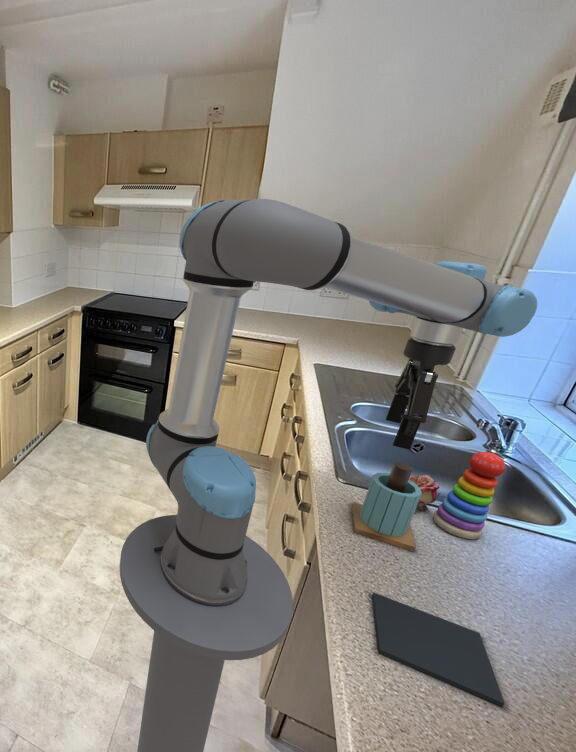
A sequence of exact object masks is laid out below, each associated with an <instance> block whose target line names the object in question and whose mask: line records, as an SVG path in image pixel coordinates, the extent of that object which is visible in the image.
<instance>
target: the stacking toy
mask: <svg viewBox="0 0 576 752" xmlns="http://www.w3.org/2000/svg"><path fill="white" fill-rule="evenodd" d="M469 466H470V468H467V469H465V470H464V471H463V473H462V474H463V476H461V477H459V478H458V480H457V483H456V484H454V486H453V489H452V490H450V491H449V492H448V493H447V497H445V498H443V500H442V503H440V504H439V505H438V506H437V509H436V510H435V511H434V512H433V514H432V518H433V521H434V522H435V523H436V524H437V525H438V527H440V528H441V529H443V530H444V531H445V532H448V533H449V534H452V535H454V536H457V537H460V538H462V539H468V540H475V539H479V538H481V536H482V535H483V529H484V527H485V524H486V523H485V521H487V519H488V512H489V511H490V505H491V504H492V503H493V495H494V494H495V488H496V487H497V486H498V483H499V482H498V479H497V477H500V476H501V475H502V474H504V472H505V470H506V463H505V460H503V458H502V457H500V456H499V455H498V454H495V453H493V452H489V451H481V452H477V453H474V454H473V455H472V456H471V457H470V459H469Z"/></svg>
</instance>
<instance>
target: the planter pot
mask: <svg viewBox="0 0 576 752" xmlns="http://www.w3.org/2000/svg"><path fill="white" fill-rule="evenodd" d="M390 473H391V472H376V473H374V474H372V477H371V479H370V483H369V485H368V489H367V491H366V494H365V497H364V500H363V503H362V504H363V506H362V509H361V512H360V518H361V520H362V521H363V522H364V523H365V524H366V525H368V526H369V527H370V528H372V529H374V530H375V531H377V532H378V531H379V533H382V534H386V535H389V536H390V535H391V536H403V535H404V534H406V532H407V529H408V527H409V525H410V524H411V521H412V520H413V519H412V518H413V517H414V515H415V512H416V509H417V506H418V505H417V504H418V502H419V499H420V497H421V494H422V492H421V489H420V488H419V487H418V486H417V485H416V484H414V483H413V482H411V481H410V480H408V483H407V485H406V488H405V491H404V493H401V492H397V491H393V490H391V489H389V488H387V487H386V484H387V482H388V479H389V476H390Z"/></svg>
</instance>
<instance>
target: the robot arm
mask: <svg viewBox="0 0 576 752" xmlns="http://www.w3.org/2000/svg"><path fill="white" fill-rule="evenodd" d="M179 250H180V253H181V255H182V257H183V259H184V260H185V264H184V265H185V266H184V270H183V271H184V272H183V278H182V281H183V282H184V283H185V285H186V286H187V288H188V289H189V290H188V291H189V293H188V299H187V304H186V309H185V315H184V321H183V322H184V323H183V327H182V331H181V338H180V343H179V349H178V355H177V360H176V366H175V370H174V376H173V382H172V386H171V387H172V388H171V392H170V399H169V404H168V408H167V409H165V410H163V411H162V412H161V413H160V414H159V415H158V419H157V420H156V423H155V424H152V425H151V427H150V428H149V430H148V432H147V435H146V440H145V445H146V451H147V454H148V457H149V459H150V460H149V461H150V462H151V463H152V466H153V467H154V468H155V469H156V470H157V472H158V473H159V475H160V477H161V478H162V480H163V481H164V483H165V485H166V486H167V488H168V489H169V491H170V492H171V494H172V495H173V497H174V499H175V501H176V502H177V513H176V515H177V520H176V527H175V529H174V530H173V532H172V533H171V535H170V537H169V538H168V540H167V541H166V543H165V545H164V546H161V547H156V548H154V551H155V552H160V551H162V553H161V561H160V565H161V570H162V573H163V575H164V577H165V579H166V580H167V582H168V583H169V584H170V585H171V587H172V588H173V589H174V590H176V591H177V592H178V593H179V594H181V595H182V596H184V597H185V598H187V599H189V600H191V601H193V602H196V603H198V604H202V605H206V606H213V607H221V606H227V605H230V604H233V603H235V602H236V601H238V600H239V599H240V598H241V597H242V596H243V594H244V592H245V589H246V584H247V568H246V563H247V561H246V560H245V558H244V553H243V545H244V541H245V536H247V532H248V529H249V524H250V519H251V517H252V516H251V515H252V512H253V508H254V504H255V502H256V488H257V480H256V475H255V472H254V471H253V469H252V468H251V466H250V464H249V463H247V462H246V461H245V460H244V459H243V458H242V457H241V456H240V455H238V454H236V453H235V452H232V453H230V452H229V450H228V449H225V448H222V447H218V446H217V442H218V437H219V433H220V425H219V424H218V423H217V421H216V420H215V418H214V417H215V413H216V408H217V404H218V399H219V394H220V390H221V386H222V381H223V377H224V372H225V368H226V363H227V359H228V354H229V351H230V346H231V341H232V337H233V333H234V328H235V324H236V320H237V315H238V309H239V305H240V301H241V298H242V297H243V296H244V294H246V293H248V292H249V291H251V290H252V289H253V287H254V283H255V282H258V283H268V284H274V285H282V286H287V287H288V286H289V287H294V288H298V289H302V290H305V291H309V292H310V291H311V292H312V291H317V290H320V289H323V288H325V289H326V290H327V289H328V290H330V291H335V292H338V293H341V294H345V295H348V296H352V297H355V298H359V299H362V300H364V301H365V300H366V301H368V303H369V305H370V306H371V307H372V308H373V309H374V310H375V311H378V312H382V313H389V314H395V313H398V314H399V313H400V314H405V315H410V316H413V317H415V318H414V322H413V324H412V327H411V330H410V333H409V336H410V337H409V338H408V339H407V342H406V344H405V346H404V350H403V352H402V353H403V356H404V357H406V358H407V359H408V360H407V363H406V365H405V367H404V369H403V370H402V372H401V374H400V376H399V378H398V380H397V382H396V383H395V385H394V387H395V390H394V392H395V394H394V395H393V399H392V401H391V404H390V406H389V409H388V412H387V413H386V417H385V421H388V422H390V423H391V422H392V423H396V424H399V427H398V430H397V433H396V435H395V437H394V440H393V443H392V446H393V447H396V448H400V449H403V450H408V451H410V450H411V447H412V445H413V442H414V440H415V438H416V435H417V433H418V430H419V428H420V425H421V424H425V423H426V422H427V418H428V417H427V416H428V413H429V409H430V405H431V402H432V397H433V394H434V393H433V392H434V389H435V385H436V383H437V380H438V378H439V373H436V371H434V370H435V367H436V366H439V365H440V366H445V365H449V364H450V363H451V362H452V359H453V357H454V354H455V352H456V350H457V347H456V346H455V345H457V344H459V341H460V339H461V336H462V334H466V333H467V332H468V331H473V332H476V333H480V334H482V335H490V336H495V337H499V338H506V337H511V336H513V335H514V336H515V335H517V334H518V333H520V332H521V331H523V330H524V329H525V328H526V327H528V325H529V324H530V323H531V321H532V319H533V317H534V316H535V315H536V312H537V309H538V299H537V297H536V295H535V294H534V292H533V291H531V290H529V289H526V288H521V287H517V286H516V287H515V286H513V285H511V284H506V285H505V284H497V283H493V282H489V281H486V280H485V278H486V275H487V272H488V271H487V270H488V269H487V268H486V266H484V265H482V264H478V263H472V262H471V263H470V262H463V261H448V260H447V261H446V260H445V261H438V262H437V263H432V262H429V261H427V260H424V259H422V258H421V259H420V258H418V257H414V256H411V255H408V254H406V253H403V252H399V251H396V250H394V249H391V248H388V247H384V246H382V245H379V244H376V243H372V242H370V241H368V240H364V239H361V238H358V237H356V236H352V233H351V231H350V229H349V228H348V227H347V226H346V225H345V224H342V223H339V222H337V221H334V220H331V219H328V218H325V217H323V216H320V215H318V214H316V213H313V212H310V211H307V210H306V209H302V208H300V207H297V206H294V205H291V204H288V203H286V202H283V201H279V200H275V199H270V198H254V199H220V200H217V201H213V202H209V203H206V204H204V205H202V206H200V207H198V208H197V209H196V210H195V211H194V212H192V213H191V214H190V215H189V217H188V218H187V219H186V221H185V222H184V224H183V226H182V228H181V231H180V235H179ZM405 412H406V413H405Z"/></svg>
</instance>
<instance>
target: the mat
mask: <svg viewBox="0 0 576 752" xmlns="http://www.w3.org/2000/svg"><path fill="white" fill-rule="evenodd" d="M371 596H372V606H373V607H372V608H373V615H374V624H375V625H374V626H375V633H376V642H377V651H378V654H380V655H382V656H384V657H387V658H390V659H392V660H394V661H396V662H399V663H401V664H402V665H406V666H407V667H411V668H412V669H415V670H417V671H419V672H421V673H424V674H426V675H429V676H431V677H433V678H435V679H437V680H440V681H442V682H444V683H447V684H449V685H451V686H453V687H456V688H458V689H460V690H463V691H465V692H466V693H470V694H472V695H474V696H476V697H479V698H481V699H483V700H486V701H487V702H489V703H492V704H495V705H497V706H499V707H502V708H503V707H504V706H505V704H506V703H505V701H504V700H505V699H504V698H503V694H502V692H501V689H500V686H499V684H498V680H497V678H496V675H495V673H494V670H493V667H492V664H491V661H490V659H489V656H488V653H487V650H486V647H485V644H484V641H483V638H482V636H481V633H480V632H478V631H476V630H473V629H470V628H468V627H465V626H463V625H460V624H457V623H455V622H452V621H449V620H446V619H443V618H441V617H439V616H436V615H434V614H431V613H428V612H426V611H423V610H421V609H418V608H416V607H412V606H410V605H407V604H405V603H402V602H400V601H397V600H394V599H391V598H390V597H386V596H384V595H381V594H379V593H376V592H373V593H372V595H371Z"/></svg>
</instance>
